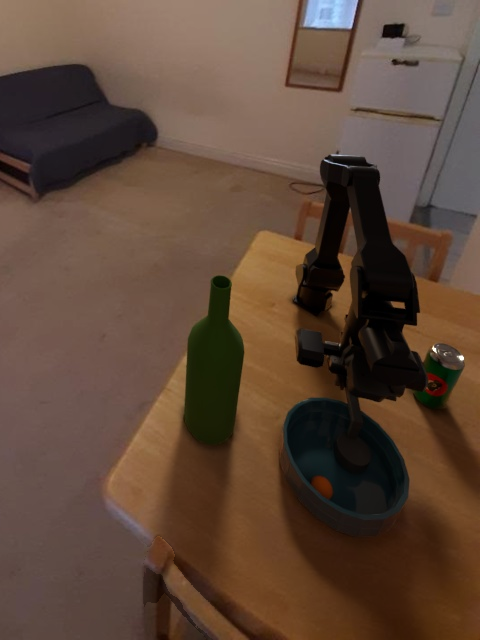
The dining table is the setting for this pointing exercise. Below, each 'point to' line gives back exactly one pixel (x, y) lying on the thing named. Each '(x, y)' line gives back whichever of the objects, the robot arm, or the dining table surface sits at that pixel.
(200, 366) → the wine bottle
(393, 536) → the dining table surface
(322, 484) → the orange ball
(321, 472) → the bowl
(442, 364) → the soda can
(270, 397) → the dining table surface
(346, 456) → the ladle
